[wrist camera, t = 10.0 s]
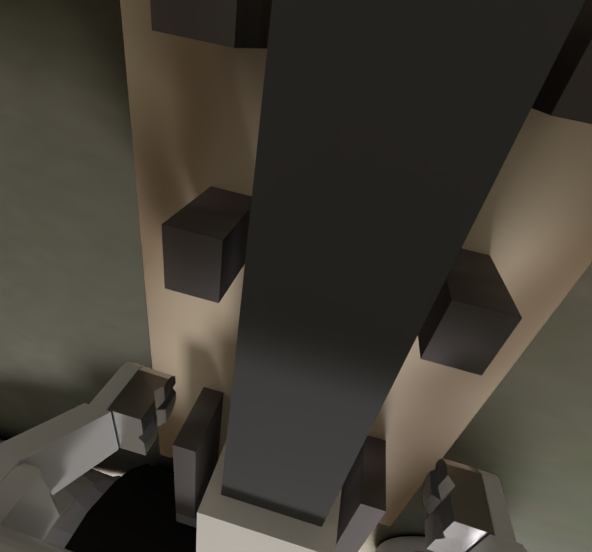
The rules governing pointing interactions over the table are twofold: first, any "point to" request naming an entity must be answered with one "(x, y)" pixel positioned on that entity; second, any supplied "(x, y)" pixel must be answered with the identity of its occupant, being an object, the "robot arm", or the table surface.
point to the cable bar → (358, 232)
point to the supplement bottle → (404, 544)
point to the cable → (121, 514)
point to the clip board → (223, 150)
